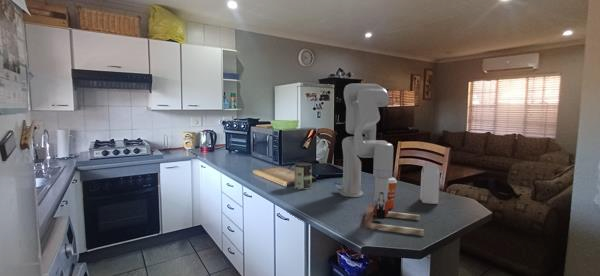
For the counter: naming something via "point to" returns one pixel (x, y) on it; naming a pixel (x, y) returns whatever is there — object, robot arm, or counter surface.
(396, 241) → the counter surface
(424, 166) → the milk carton
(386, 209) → the red apple
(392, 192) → the paper cup
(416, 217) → the wooden u-shaped frame
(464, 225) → the counter surface
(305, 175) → the coffee can
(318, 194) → the counter surface
